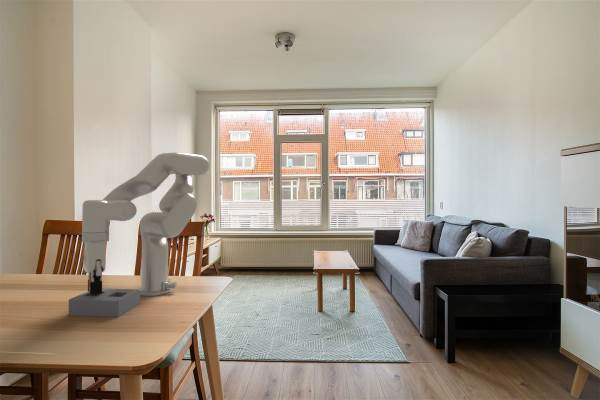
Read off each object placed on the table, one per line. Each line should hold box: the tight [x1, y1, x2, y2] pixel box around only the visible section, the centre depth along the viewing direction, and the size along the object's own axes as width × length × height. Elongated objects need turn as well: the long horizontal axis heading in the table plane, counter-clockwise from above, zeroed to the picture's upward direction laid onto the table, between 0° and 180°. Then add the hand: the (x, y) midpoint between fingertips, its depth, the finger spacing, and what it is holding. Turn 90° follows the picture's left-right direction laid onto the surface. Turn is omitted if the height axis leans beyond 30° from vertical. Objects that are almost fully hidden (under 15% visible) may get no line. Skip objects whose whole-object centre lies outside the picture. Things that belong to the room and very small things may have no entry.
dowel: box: [89, 270, 100, 296], centre depth 101 cm, size 3×3×10 cm
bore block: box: [67, 287, 141, 318], centre depth 101 cm, size 16×12×5 cm
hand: (94, 291), depth 101 cm, fingers open, 3 cm apart
